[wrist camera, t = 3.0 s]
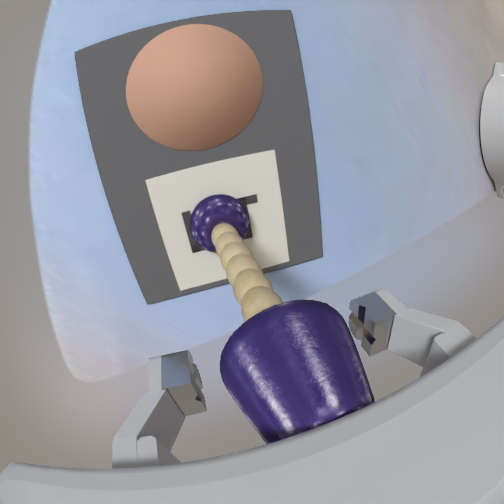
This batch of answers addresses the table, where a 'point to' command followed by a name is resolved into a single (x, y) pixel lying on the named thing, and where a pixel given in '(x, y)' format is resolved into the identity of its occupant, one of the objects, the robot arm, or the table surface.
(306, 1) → the table surface
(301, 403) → the toy lamp
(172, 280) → the mat
